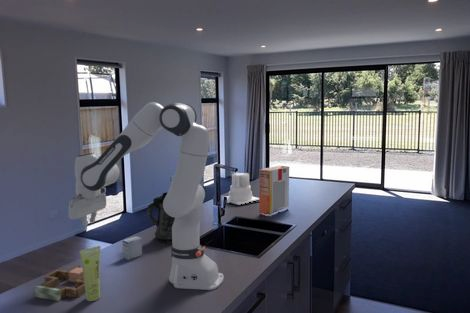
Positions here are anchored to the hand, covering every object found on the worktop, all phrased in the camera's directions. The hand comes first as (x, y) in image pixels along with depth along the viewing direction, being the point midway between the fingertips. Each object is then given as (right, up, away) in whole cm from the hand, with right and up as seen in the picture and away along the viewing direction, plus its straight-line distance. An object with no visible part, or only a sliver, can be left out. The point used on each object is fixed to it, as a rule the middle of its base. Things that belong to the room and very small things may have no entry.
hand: (88, 223), depth 164 cm
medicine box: (+14, -19, +19) cm, 30 cm away
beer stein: (+26, -16, +43) cm, 53 cm away
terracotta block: (-2, -22, -5) cm, 23 cm away
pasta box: (+88, -9, +97) cm, 131 cm away
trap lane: (-4, -23, -10) cm, 25 cm away
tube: (+9, -24, -21) cm, 33 cm away
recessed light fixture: (+66, -5, +127) cm, 143 cm away
